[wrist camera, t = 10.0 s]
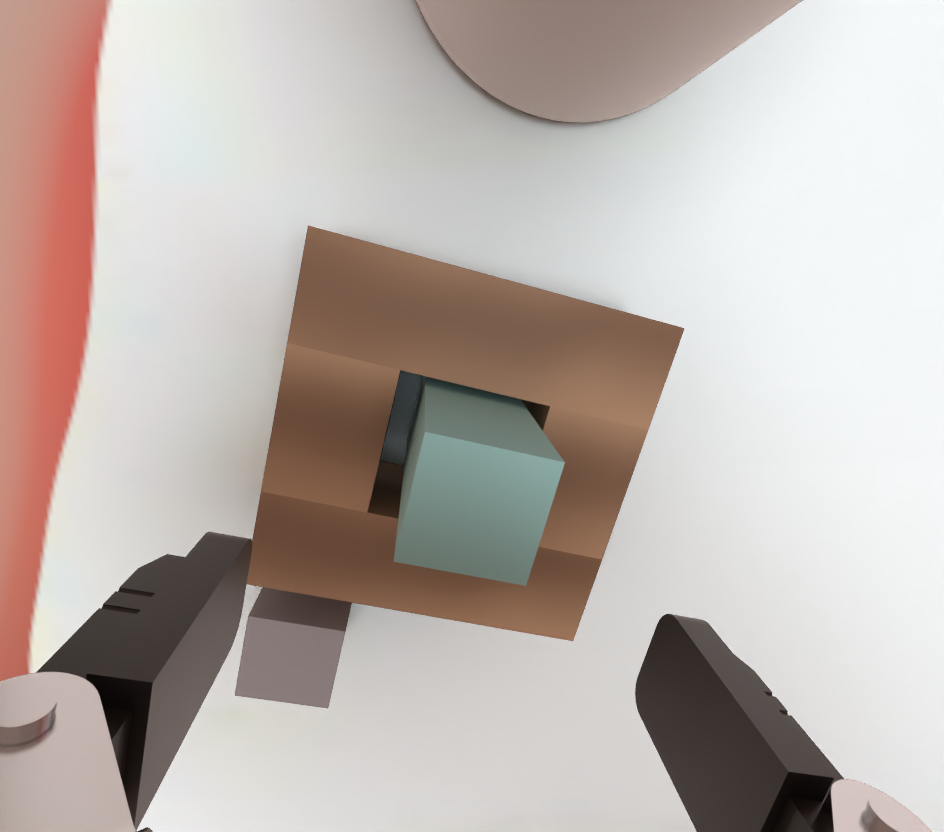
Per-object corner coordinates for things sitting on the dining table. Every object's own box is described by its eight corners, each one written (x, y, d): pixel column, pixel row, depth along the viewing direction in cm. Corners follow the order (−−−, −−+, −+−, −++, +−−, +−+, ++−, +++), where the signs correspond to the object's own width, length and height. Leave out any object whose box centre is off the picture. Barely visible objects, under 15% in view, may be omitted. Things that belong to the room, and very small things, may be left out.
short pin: (346, 623, 25) (328, 708, 20) (272, 611, 24) (234, 695, 20) (361, 559, 24) (345, 631, 19) (284, 545, 24) (248, 616, 19)
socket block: (544, 568, 25) (573, 641, 20) (282, 518, 23) (244, 583, 18) (628, 315, 22) (684, 328, 17) (335, 235, 20) (308, 225, 16)
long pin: (505, 378, 22) (564, 462, 13) (484, 453, 23) (526, 585, 14) (425, 359, 22) (425, 431, 12) (407, 437, 23) (393, 561, 13)
